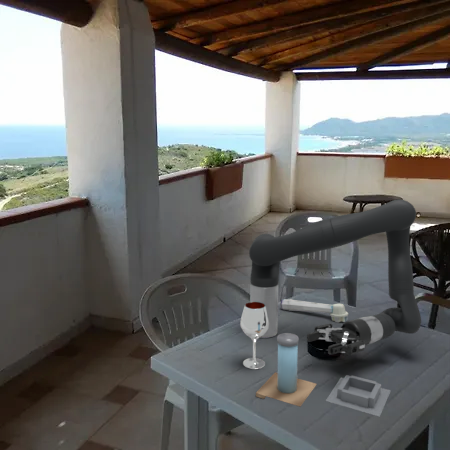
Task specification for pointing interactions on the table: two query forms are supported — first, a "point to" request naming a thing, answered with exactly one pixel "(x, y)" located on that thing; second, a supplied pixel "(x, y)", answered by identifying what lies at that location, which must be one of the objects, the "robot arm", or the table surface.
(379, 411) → the cartridge housing
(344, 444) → the table surface
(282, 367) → the filter cartridge
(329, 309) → the toothbrush head
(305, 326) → the table surface
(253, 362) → the wineglass
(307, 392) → the light brown wooden board
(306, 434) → the table surface
